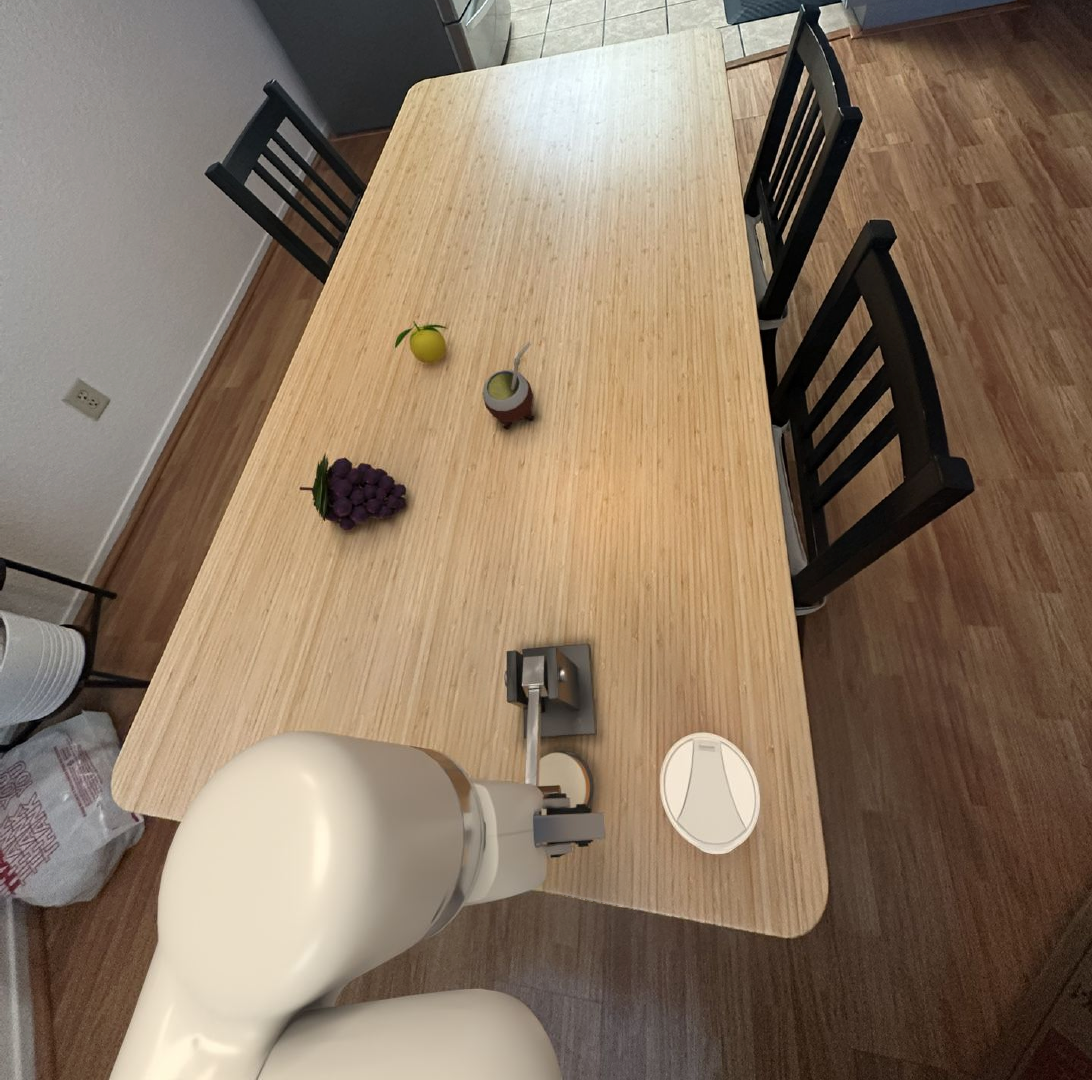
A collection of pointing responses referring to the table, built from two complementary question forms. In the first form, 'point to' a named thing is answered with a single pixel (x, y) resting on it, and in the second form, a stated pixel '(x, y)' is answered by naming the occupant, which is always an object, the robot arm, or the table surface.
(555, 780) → the cake
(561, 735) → the lever base stand
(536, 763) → the lever
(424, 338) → the lemon
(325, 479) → the fruit
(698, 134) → the table surface
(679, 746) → the coffee cup
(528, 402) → the mate gourd
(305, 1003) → the robot arm
